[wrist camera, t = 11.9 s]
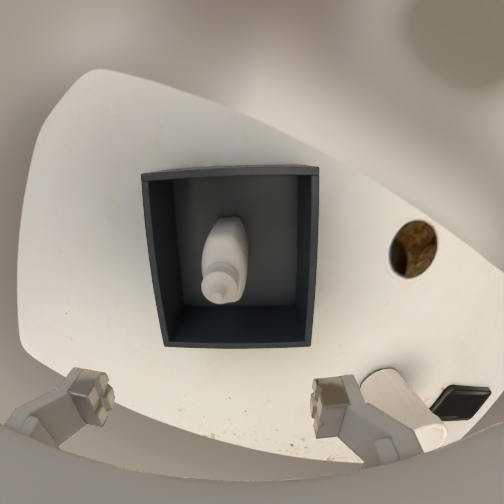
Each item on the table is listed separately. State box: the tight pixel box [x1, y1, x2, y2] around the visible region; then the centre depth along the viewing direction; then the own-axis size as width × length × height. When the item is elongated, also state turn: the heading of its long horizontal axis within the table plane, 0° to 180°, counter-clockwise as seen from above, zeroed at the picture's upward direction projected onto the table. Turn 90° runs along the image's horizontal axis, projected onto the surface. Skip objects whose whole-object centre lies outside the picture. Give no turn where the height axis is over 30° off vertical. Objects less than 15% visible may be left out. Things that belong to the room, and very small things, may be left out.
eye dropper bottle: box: [201, 216, 249, 304], centre depth 24 cm, size 4×6×12 cm
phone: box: [430, 385, 491, 421], centre depth 38 cm, size 8×1×15 cm
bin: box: [141, 165, 319, 349], centre depth 27 cm, size 15×13×8 cm
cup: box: [360, 369, 448, 453], centre depth 30 cm, size 10×10×13 cm
